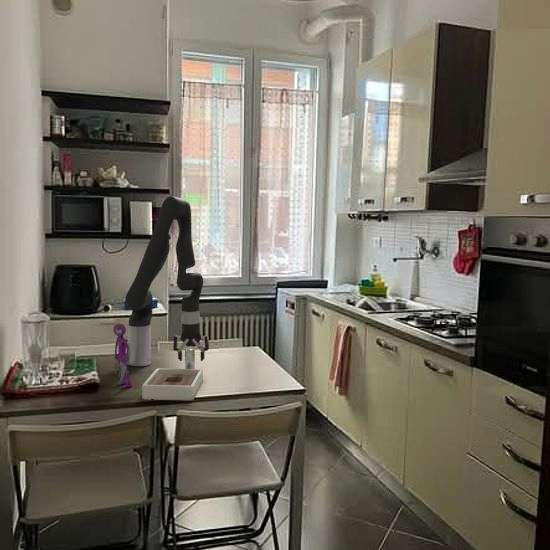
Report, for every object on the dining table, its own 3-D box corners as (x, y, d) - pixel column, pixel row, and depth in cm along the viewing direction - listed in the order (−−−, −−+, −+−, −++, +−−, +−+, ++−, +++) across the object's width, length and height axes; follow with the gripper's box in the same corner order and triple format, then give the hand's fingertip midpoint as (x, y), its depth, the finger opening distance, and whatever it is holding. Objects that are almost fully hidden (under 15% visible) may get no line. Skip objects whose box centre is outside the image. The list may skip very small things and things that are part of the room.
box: (142, 399, 200) (142, 385, 200) (156, 380, 222) (156, 368, 222) (193, 400, 200) (193, 386, 199) (202, 381, 222) (202, 369, 221)
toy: (103, 382, 219) (102, 321, 216) (121, 379, 223) (120, 319, 220) (119, 393, 206) (118, 328, 204) (137, 390, 210) (136, 326, 208)
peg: (184, 374, 231) (184, 350, 230) (185, 372, 235) (185, 348, 234) (193, 375, 231) (193, 350, 230) (195, 372, 235) (195, 348, 234)
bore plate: (150, 393, 204) (150, 384, 204) (159, 381, 218) (159, 373, 218) (189, 393, 204) (189, 385, 203) (195, 382, 218) (195, 374, 217)
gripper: (171, 323, 227) (172, 363, 229) (207, 323, 227) (207, 363, 229) (175, 319, 235) (175, 358, 236) (209, 319, 234) (209, 358, 236)
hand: (191, 360), depth 233 cm, fingers open, 8 cm apart
